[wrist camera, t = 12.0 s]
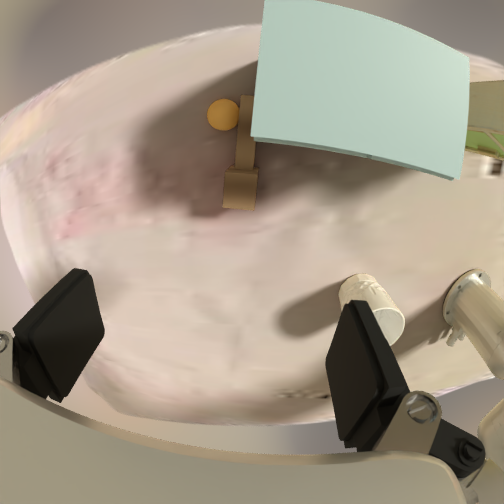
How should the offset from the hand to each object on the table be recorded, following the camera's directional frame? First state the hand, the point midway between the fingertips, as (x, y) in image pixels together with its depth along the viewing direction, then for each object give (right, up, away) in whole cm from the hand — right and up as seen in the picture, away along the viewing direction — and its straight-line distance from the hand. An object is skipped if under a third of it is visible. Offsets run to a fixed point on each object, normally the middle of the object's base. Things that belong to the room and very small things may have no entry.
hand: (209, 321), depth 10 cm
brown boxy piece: (+1, +15, +24) cm, 29 cm away
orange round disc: (-2, +19, +22) cm, 30 cm away
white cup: (+18, -4, +32) cm, 37 cm away
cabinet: (+11, +21, +21) cm, 31 cm away
